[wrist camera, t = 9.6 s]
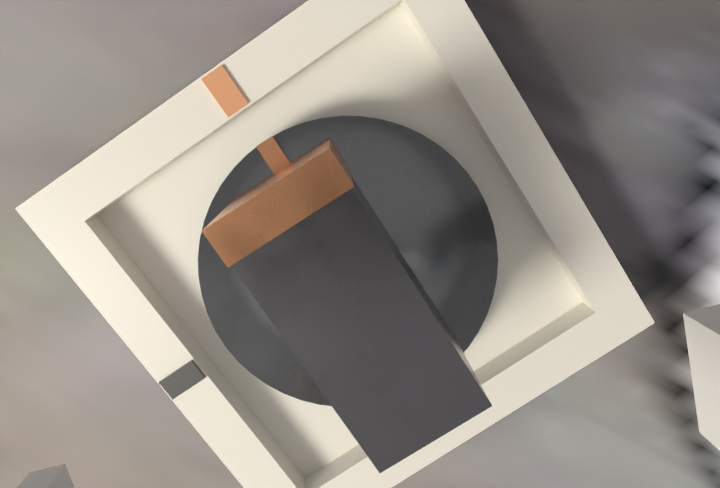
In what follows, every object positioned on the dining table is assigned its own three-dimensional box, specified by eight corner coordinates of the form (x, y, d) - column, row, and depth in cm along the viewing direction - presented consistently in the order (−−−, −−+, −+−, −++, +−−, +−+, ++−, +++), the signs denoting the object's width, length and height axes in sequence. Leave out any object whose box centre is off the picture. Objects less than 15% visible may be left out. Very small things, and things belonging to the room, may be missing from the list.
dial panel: (410, -61, 27) (418, -79, 24) (628, 305, 31) (656, 323, 28) (41, 199, 28) (13, 209, 26) (296, 515, 32) (293, 550, 30)
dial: (539, 299, 29) (623, 376, 21) (308, 440, 30) (300, 568, 22) (394, 56, 27) (424, 32, 18) (146, 219, 28) (65, 268, 19)
